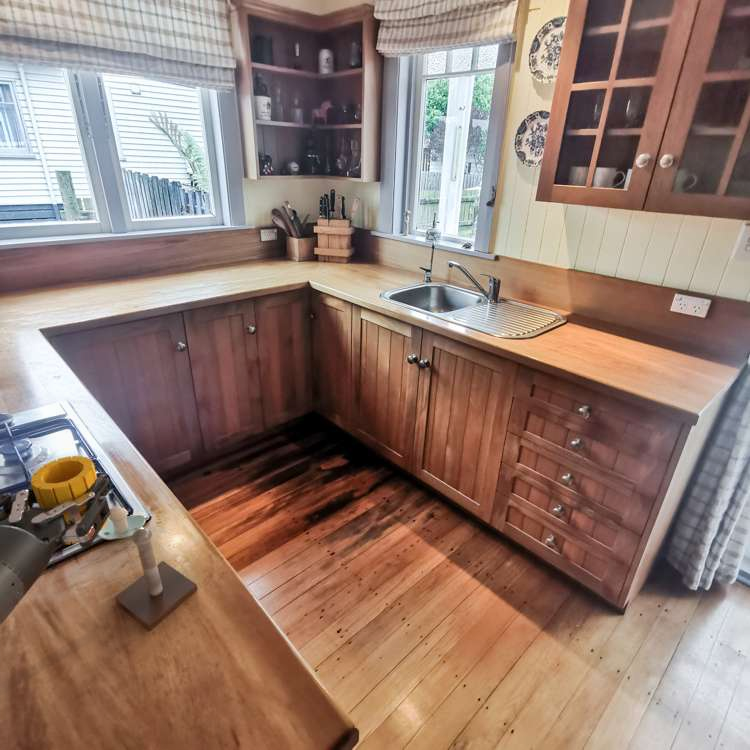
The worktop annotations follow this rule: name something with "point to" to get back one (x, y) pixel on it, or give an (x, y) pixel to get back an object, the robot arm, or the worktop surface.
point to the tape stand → (154, 586)
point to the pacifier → (121, 524)
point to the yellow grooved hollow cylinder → (63, 482)
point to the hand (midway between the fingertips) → (78, 479)
